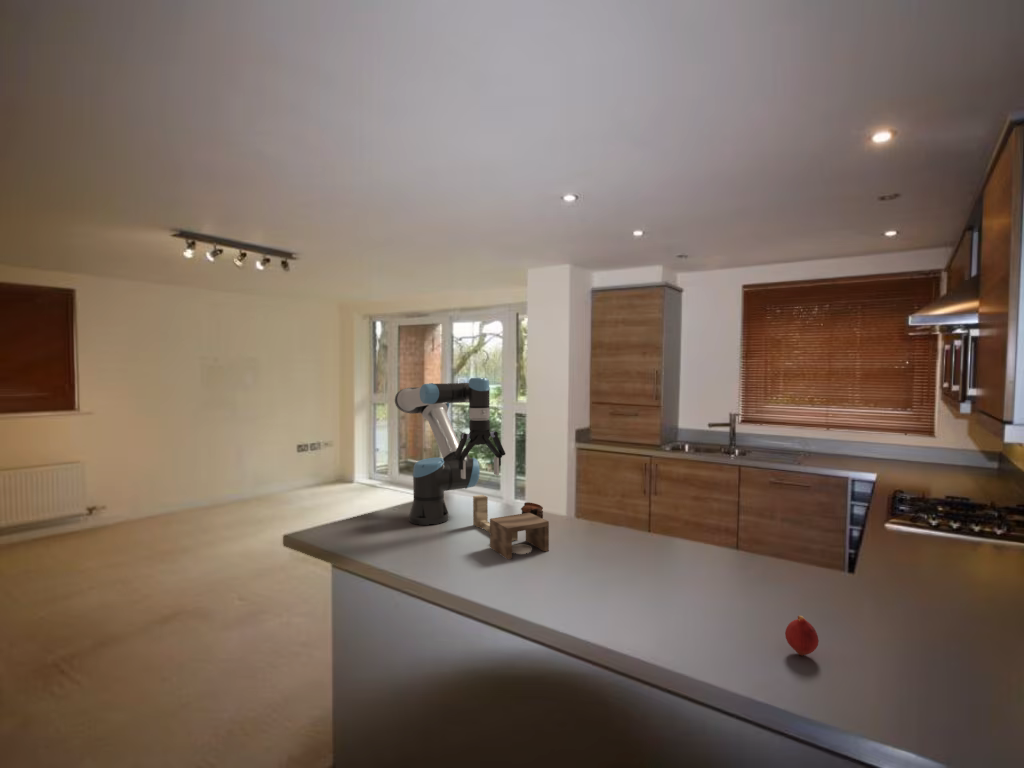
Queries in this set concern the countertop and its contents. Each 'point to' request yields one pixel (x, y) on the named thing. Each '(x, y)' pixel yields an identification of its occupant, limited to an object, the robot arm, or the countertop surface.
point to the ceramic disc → (521, 548)
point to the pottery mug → (532, 509)
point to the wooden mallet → (484, 514)
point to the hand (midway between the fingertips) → (480, 476)
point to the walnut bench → (506, 525)
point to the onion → (801, 636)
